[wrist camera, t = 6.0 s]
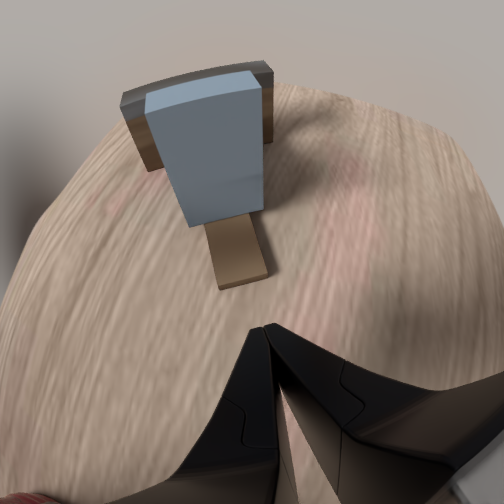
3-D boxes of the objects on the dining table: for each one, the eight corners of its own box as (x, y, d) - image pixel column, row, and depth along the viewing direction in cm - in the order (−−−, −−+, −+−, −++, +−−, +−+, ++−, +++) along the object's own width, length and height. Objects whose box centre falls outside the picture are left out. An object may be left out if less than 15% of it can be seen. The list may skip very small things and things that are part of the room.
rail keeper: (327, 261, 17) (358, 191, 11) (158, 305, 16) (102, 254, 10) (253, 105, 25) (250, 46, 19) (148, 130, 24) (128, 74, 18)
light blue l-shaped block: (263, 209, 18) (261, 87, 10) (189, 227, 18) (144, 113, 10) (231, 123, 23) (221, 32, 15) (176, 136, 22) (152, 48, 14)
